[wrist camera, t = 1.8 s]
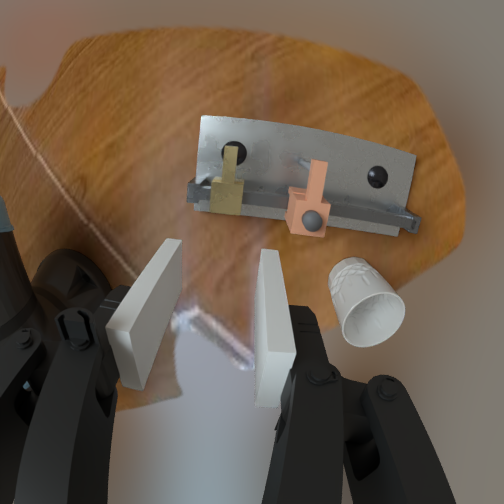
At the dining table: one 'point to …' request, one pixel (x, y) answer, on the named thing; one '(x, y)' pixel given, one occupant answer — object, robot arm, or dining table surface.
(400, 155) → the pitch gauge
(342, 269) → the white cup
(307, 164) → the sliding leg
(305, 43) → the dining table surface
